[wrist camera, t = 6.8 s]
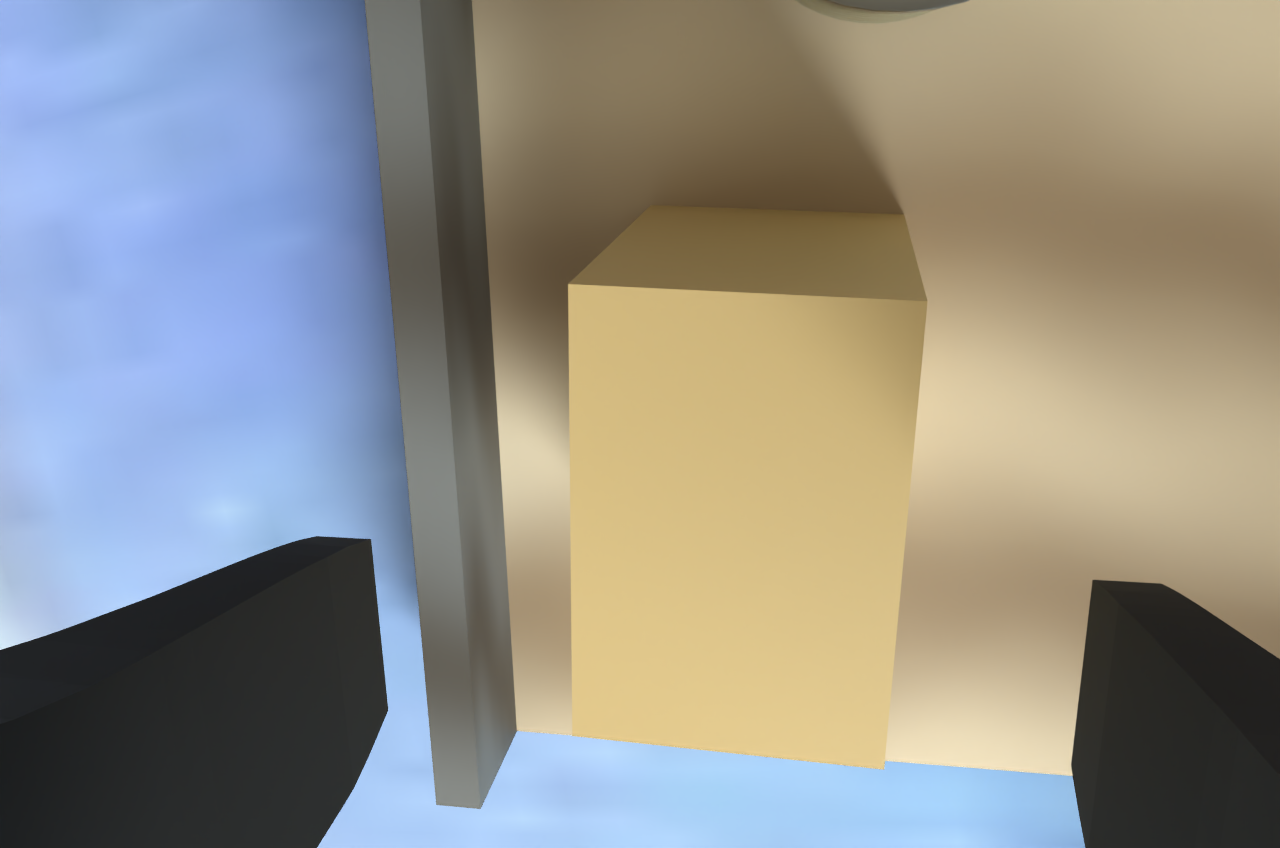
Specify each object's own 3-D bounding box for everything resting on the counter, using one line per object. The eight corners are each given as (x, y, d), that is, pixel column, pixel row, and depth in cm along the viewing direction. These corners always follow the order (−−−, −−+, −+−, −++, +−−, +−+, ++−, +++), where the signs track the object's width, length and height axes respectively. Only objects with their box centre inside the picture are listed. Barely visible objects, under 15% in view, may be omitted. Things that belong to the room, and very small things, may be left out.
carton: (874, 562, 20) (884, 770, 15) (643, 543, 21) (568, 735, 15) (904, 214, 18) (928, 301, 13) (648, 205, 19) (563, 284, 13)
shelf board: (1722, 787, 20) (1893, 939, 17) (491, 694, 24) (432, 804, 21) (2129, -445, 15) (2512, -584, 11) (420, -324, 18) (324, -401, 15)
